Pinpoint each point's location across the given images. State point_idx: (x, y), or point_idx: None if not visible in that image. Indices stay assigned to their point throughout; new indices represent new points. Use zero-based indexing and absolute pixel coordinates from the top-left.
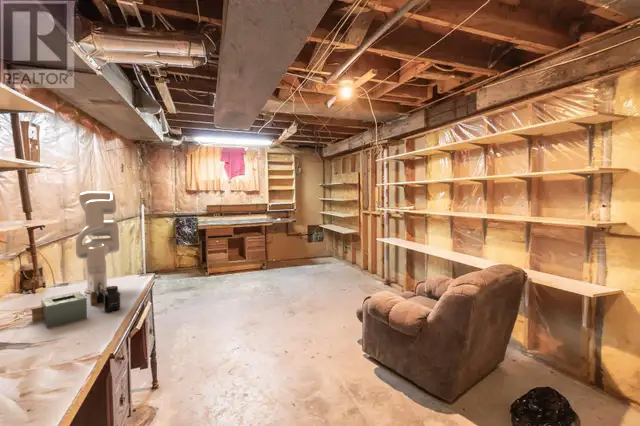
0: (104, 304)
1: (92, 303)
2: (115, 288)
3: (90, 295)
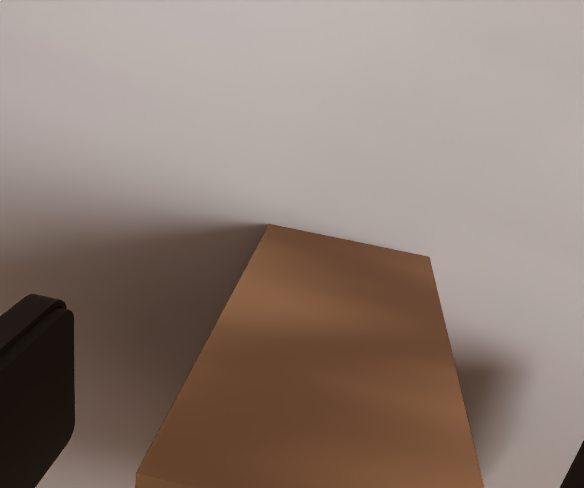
0: None
1: (253, 258)
2: None
3: (421, 451)
